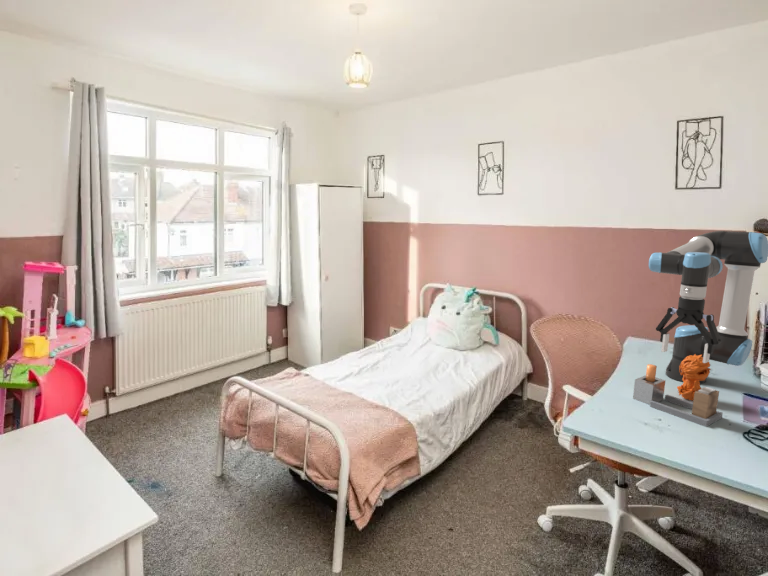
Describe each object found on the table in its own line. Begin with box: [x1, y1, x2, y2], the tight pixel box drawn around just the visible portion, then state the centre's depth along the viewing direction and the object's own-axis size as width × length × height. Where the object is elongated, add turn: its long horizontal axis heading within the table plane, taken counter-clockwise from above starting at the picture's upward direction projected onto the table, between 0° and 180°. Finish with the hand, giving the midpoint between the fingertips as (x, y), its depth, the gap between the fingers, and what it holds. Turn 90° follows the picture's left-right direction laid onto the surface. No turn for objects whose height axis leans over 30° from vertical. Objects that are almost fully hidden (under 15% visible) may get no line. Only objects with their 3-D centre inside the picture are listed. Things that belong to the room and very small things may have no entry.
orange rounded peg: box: [645, 363, 657, 382], centre depth 180 cm, size 3×3×6 cm
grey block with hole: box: [632, 374, 666, 406], centre depth 182 cm, size 9×7×8 cm
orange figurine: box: [676, 354, 712, 401], centre depth 182 cm, size 11×11×18 cm
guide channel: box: [649, 394, 723, 428], centre depth 171 cm, size 12×19×2 cm, turn 33°
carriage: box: [691, 386, 720, 419], centre depth 165 cm, size 8×4×11 cm, turn 123°
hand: (684, 356), depth 163 cm, fingers open, 13 cm apart
